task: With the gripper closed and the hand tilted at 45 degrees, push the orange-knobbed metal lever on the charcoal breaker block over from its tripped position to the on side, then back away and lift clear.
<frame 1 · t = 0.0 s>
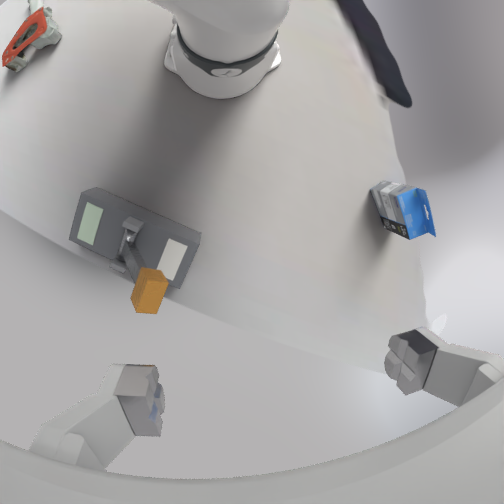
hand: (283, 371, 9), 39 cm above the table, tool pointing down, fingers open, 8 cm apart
tape dispenser: (40, 29, 27), on the table
label tape box: (383, 203, 49), on the table
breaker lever: (136, 265, 34), point 12 cm above the table, hinge at -30.0°
breaker block: (138, 230, 45), on the table
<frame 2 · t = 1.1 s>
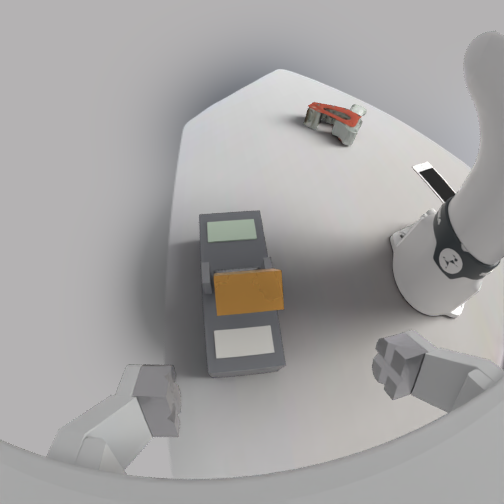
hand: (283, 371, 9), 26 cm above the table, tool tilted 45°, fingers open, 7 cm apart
tape dispenser: (341, 128, 61), on the table
cell phone: (440, 189, 53), on the table
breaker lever: (241, 282, 25), point 12 cm above the table, hinge at -30.0°
breaker block: (236, 300, 37), on the table
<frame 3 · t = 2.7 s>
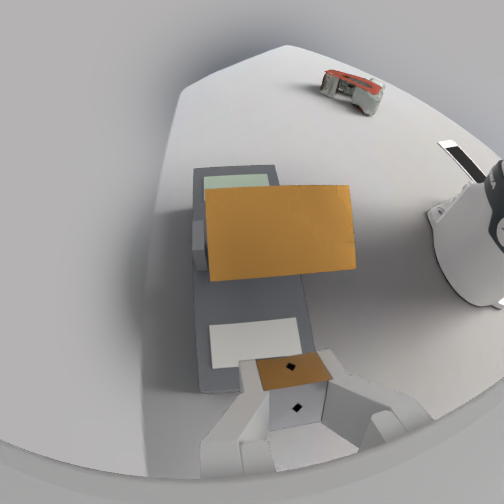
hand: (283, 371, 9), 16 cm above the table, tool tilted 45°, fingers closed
tape dispenser: (360, 100, 51), on the table
cell phone: (468, 168, 43), on the table
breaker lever: (255, 241, 15), point 12 cm above the table, hinge at -30.0°
breaker block: (242, 285, 27), on the table
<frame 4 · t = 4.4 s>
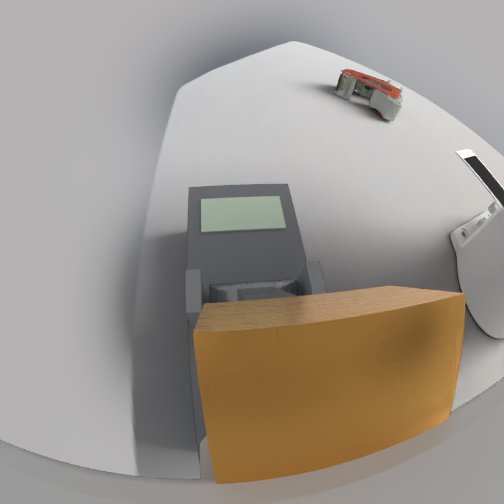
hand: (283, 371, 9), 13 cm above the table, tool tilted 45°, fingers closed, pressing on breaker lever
tape dispenser: (377, 103, 46), on the table
cell phone: (486, 181, 39), on the table
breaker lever: (273, 317, 10), point 12 cm above the table, hinge at -27.6°, touching gripper
breaker block: (247, 329, 22), on the table
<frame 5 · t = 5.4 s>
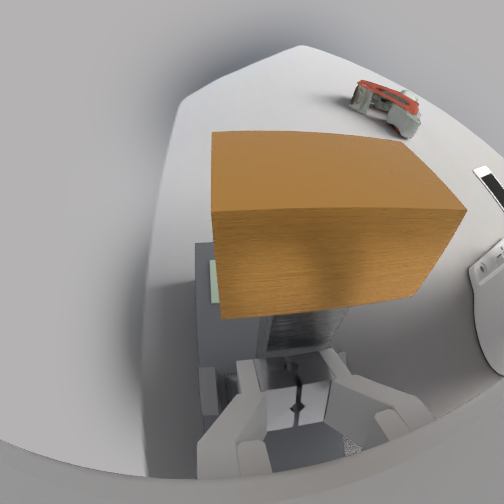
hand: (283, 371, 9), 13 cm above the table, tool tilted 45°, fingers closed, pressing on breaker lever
tape dispenser: (393, 116, 43), on the table
cell phone: (502, 201, 36), on the table
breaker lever: (289, 342, 10), point 13 cm above the table, hinge at 13.9°, touching gripper
breaker block: (260, 390, 20), on the table
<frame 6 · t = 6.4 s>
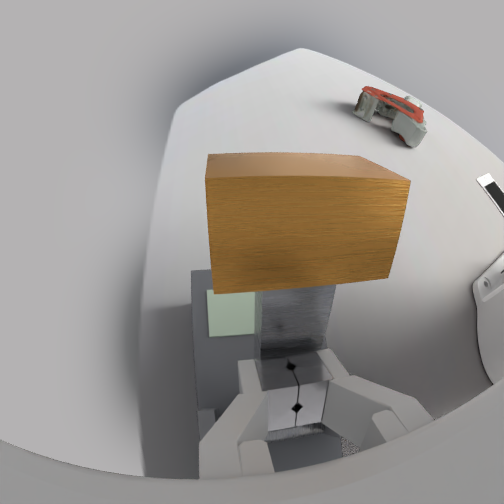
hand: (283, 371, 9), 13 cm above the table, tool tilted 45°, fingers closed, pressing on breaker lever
tape dispenser: (397, 123, 43), on the table
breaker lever: (283, 359, 10), point 12 cm above the table, hinge at 30.4°, touching gripper
breaker block: (260, 416, 19), on the table
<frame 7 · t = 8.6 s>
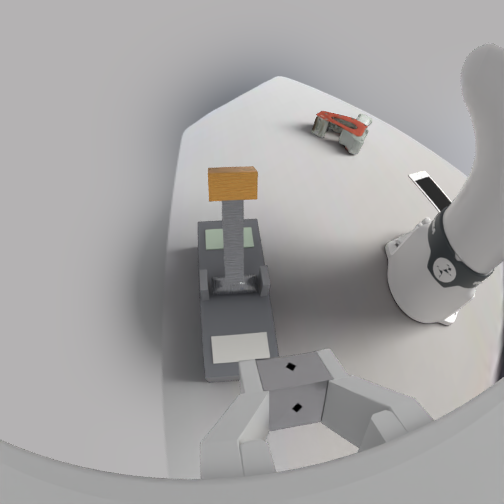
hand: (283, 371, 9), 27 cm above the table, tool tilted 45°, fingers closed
tape dispenser: (347, 137, 63), on the table
cell phone: (436, 198, 55), on the table
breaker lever: (232, 236, 29), point 12 cm above the table, hinge at 30.4°
breaker block: (233, 306, 37), on the table
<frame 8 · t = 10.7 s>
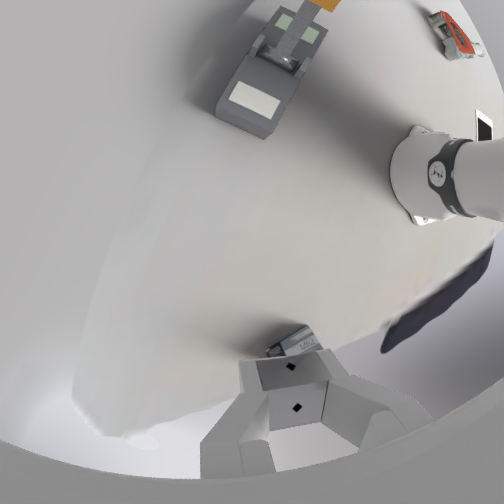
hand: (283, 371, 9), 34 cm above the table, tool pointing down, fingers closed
tape dispenser: (453, 45, 38), on the table
label tape box: (290, 343, 48), on the table
cell phone: (482, 144, 45), on the table
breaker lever: (298, 25, 24), point 12 cm above the table, hinge at 30.4°
breaker block: (268, 75, 37), on the table
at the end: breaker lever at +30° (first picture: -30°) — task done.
